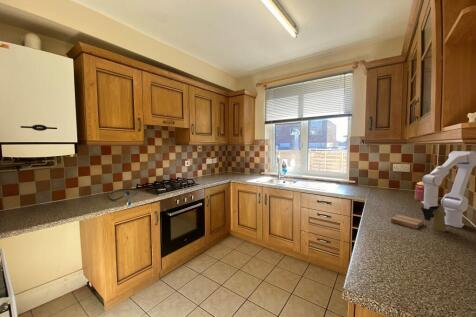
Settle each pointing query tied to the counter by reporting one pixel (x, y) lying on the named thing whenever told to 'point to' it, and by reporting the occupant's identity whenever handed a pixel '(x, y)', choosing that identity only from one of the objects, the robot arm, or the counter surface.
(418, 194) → the canister
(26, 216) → the counter surface
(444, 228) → the olive rounded piece
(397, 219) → the tan flat block
